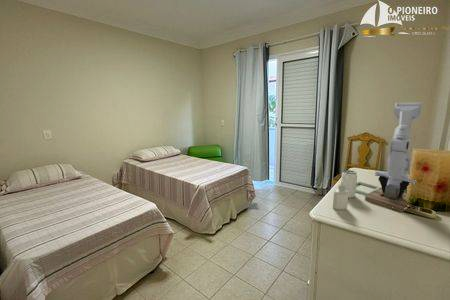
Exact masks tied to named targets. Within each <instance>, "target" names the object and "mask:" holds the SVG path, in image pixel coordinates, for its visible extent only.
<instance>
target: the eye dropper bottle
mask: <svg viewBox="0 0 450 300" xmlns="http://www.w3.org/2000/svg"><path fill="white" fill-rule="evenodd" d="M332 198H333V200H332V201H333V202H332V208H333V209H335V210H337V211H345V210H347V209H348V203H349V198H348V191H346V190H345V185H344V184H343V182H341V181H340V183H339V184H338V188H337V189H335V190H334V192H333V197H332Z"/></svg>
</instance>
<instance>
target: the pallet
mask: <svg viewBox="0 0 450 300" xmlns="http://www.w3.org/2000/svg"><path fill="white" fill-rule="evenodd" d="M384 194H385V193H382V187H381V188H380V189H378V190H376V191H374V192H372V193H370V194H368V195H365V197H364V200H365V201H366V202H370V203H372V204H376V205H380V206H382V207H385V208H387V209H392V210H394V211H398V212H401V213H404V212H405V211H404V208H405V207H406V206H407V205H409V204H410V202H407V201H406V194H407V193H405V192H404V193H403V195H402V197H401V198H400V197H399V201H395V200H392V199H388V198H385V197H384ZM392 207H393V208H392Z"/></svg>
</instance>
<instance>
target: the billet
mask: <svg viewBox="0 0 450 300" xmlns="http://www.w3.org/2000/svg"><path fill="white" fill-rule="evenodd" d="M399 191H400V186H397V185H393V184H389V185H387V186H386V187H385V194H384V197H385V198H388V199H392V200H395V201H399V197H398V195H399Z"/></svg>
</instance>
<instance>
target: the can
mask: <svg viewBox="0 0 450 300" xmlns="http://www.w3.org/2000/svg"><path fill="white" fill-rule="evenodd" d="M341 182H343V184H344V185H345V190H346V191H348V199H349V198H355V196H356V193H357V192H356V189H357V185H356V183H357V182H358V175H357V171H354V170H352V169H351V170H350V169H344V170H343V171H342V173H341V179H340V183H341Z"/></svg>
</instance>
